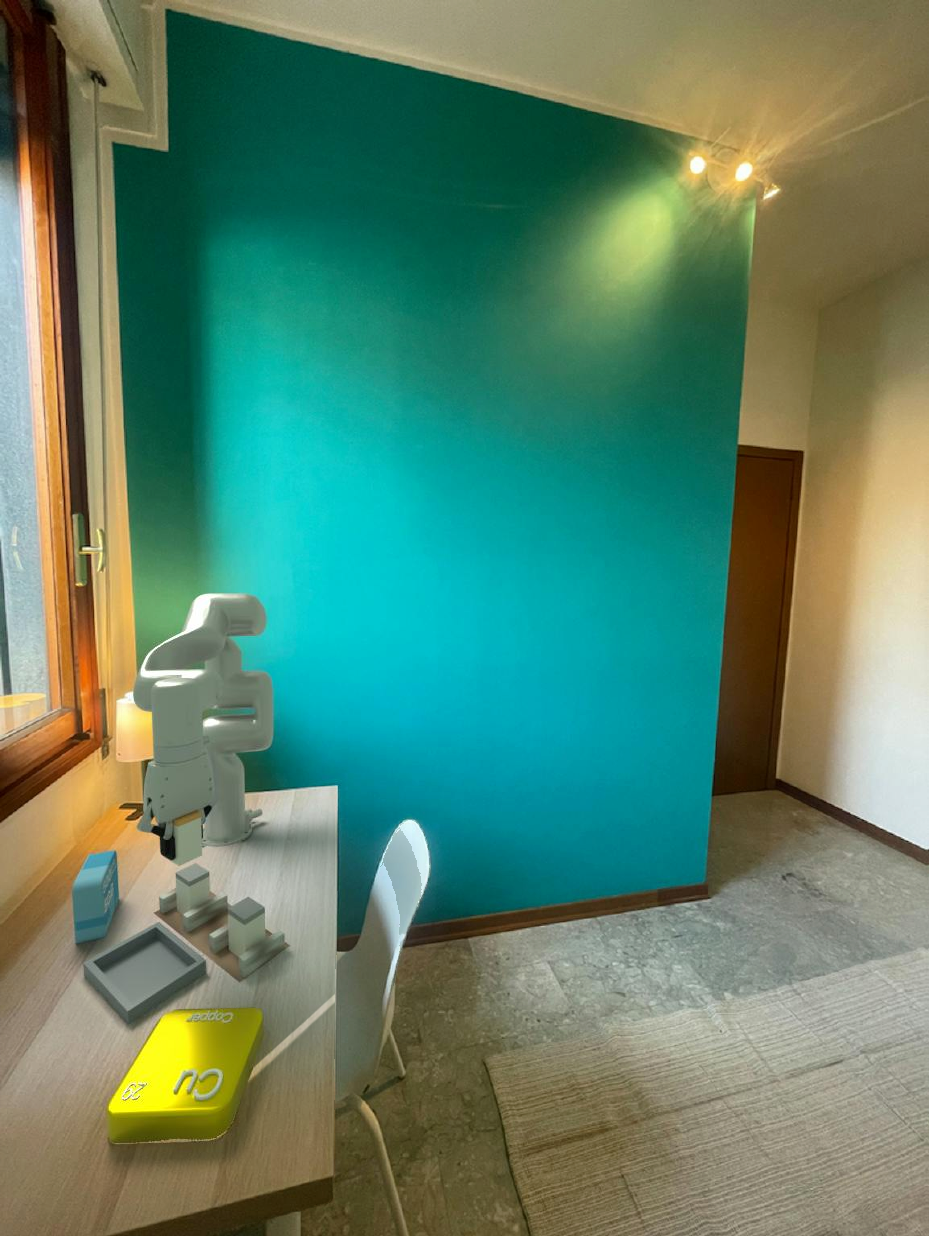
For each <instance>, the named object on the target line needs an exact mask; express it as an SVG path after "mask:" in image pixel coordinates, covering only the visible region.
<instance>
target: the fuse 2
mask: <svg viewBox="0 0 929 1236" xmlns="http://www.w3.org/2000/svg"><path fill="white" fill-rule="evenodd" d="M265 929H266V907H265V906H264V905H263V904H261V903H259V902H258V901H256V900H254V899H253V898H252V897H250V896H247V897H245V898H244V899H242V900H240V901H238V902H236V903H235V904H233V905H231V907H230V908H228V932H229V950H230V951H231V952H232V953H234V954H235V955H236V956H238V957H240V956H241V955H243V954H244V953H245V952H247V951H248V950H250V949H251V948H253V947H254V946H256V945H257V944H259V943H260V942H262V941H263V940H264V939H265Z"/></svg>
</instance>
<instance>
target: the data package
mask: <svg viewBox="0 0 929 1236" xmlns="http://www.w3.org/2000/svg"><path fill="white" fill-rule="evenodd" d="M118 872H119V871H118V853H117V850H115V849H114V850H108V851H103V852H96V853H92V854H91V853H90V854H88V856H87V857H86V858H85V861H84V862H83V864H82V867H81V868H80V870H79V872H78V875H77V876H76V878H75V880H74V881H73V885H72V889H71V890H72V891H71V899H72V900H71V901H72V916H73V928H74V942H75V943H76V944H80V943H85V942H89V941H93V940H98V939H102V938H105V937H106V935H107V933H108V930H109V928H110V924H111V922H112V919H113V917H114V913H115V911H116V908H117V905H118V902H119V900H120V890H119V873H118Z"/></svg>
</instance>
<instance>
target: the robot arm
mask: <svg viewBox="0 0 929 1236" xmlns="http://www.w3.org/2000/svg"><path fill="white" fill-rule="evenodd" d="M267 618H268V617H267V612H266V608H265V606H264V605H263V603H262V602H261V601H260V599H259V598H258V597H256V596H254V595H253V594H249V593H239V592H238V593H237V592H235V593H234V592H233V593H230V592H228V593H226V592H224V593H221V592H215V593H214V592H212V593H210V592H209V593H204V594H201V595H199V596H197V597H196V598H194V600H193V601H192V602H191V604H190V607H189V611H188V613H187V614H186V618H185V621H184V624H183V627H182V630H181V633H178V634H176V635H174V636H172V637H171V638H168V639H167V640H165V641H164V642H162V643H160V644H159V645H158V646H156V647H154V648H153V649H152V650H151V651H149V652H148V654H146V656H145V658H144V660H143V661H142V663H141V666H140V667H139V670H138V672H137V675H136V677H135V681H134V684H133V690H132V697H133V702H134V704H135V706H136V707H137V708H138V709H139V710H141V711H143V712H147V713H149V712H150V713H151V721H152V722H151V724H152V725H151V727H152V747H153V748H152V750H153V751H152V752H153V754H152V756H153V760H151V761H149V762H148V764H147V768H146V773H145V778H144V785H143V803H142V805H143V814H142V815H141V817H140V819H139V821H138V823H137V825H136V830H138V831H140V832H143V833H147V834H153V835H155V836H158V837H159V852H160V855H161V856H163V858H165V857H166V858H168V859H169V860H168V859H167V860H168V861H170V860H171V861H172V860H174V859H175V858H176V853H175V838H174V837H173V836H172V829H173V823H174V820H175V819H177V818H180V817H182V816H185V815H187V814H190V813H192V812H195V811H197V810H198V811H200V812H201V833H202V847H205V848H206V847H225V846H229V845H233V844H235V843H238V842H243V841H245V840H246V839H249V838H248V837H250V836H251V835H252V833H253V825H252V823H251V822H252V821H253V820H254V819H257V818H259V817H261V816H263V810H262V809H261V808H258V809H255V810H253V809H251V808H248V809H247V810H246V796H245V795H246V793H245V791H246V790H245V784H246V783H245V767H244V763H243V762H242V760H241V758H240V757H239V756H238V755H237V753H248V752H249V753H250V752H259V751H264V750H265V751H266V750H267V749H268V748H270V747H271V745H272V743H273V739H274V688H273V680H272V678H271V675H270V673H268V672H266V671H263V670H243V668H242V665H243V663H242V662H243V661H242V660H243V658H242V657H243V655H242V654H243V653H242V650H241V648H240V646H239V645H238V644H237V642H236V641H234V640H233V638H232V637H258V636H261V635H262V634H263V633H264V632H265V629H266V626H267V621H268V619H267ZM201 663H204V668H197V669H196V668H193V669H192V668H190V669H184V668H188V667H191V666H196V665H199V664H201ZM210 709H213V710H235V709H236V710H238V709H239V710H240V709H241V710H242V709H252V711H253V712H254V713H253V712H252V713H233V714H218V715H211V716H208V717H206V718H204V719H203V712H205V711H207V710H210ZM154 818H155V820H154V821H155V823H156V824H155V823H152V821H153V819H154ZM166 858H165V859H166ZM171 861H170V862H171Z"/></svg>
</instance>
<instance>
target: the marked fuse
mask: <svg viewBox="0 0 929 1236" xmlns="http://www.w3.org/2000/svg"><path fill="white" fill-rule="evenodd" d="M172 836H173V837H174V838H175V853H176V858H175V859H174V860H172V861H171V860H169V859H168V858H166V857H164V858H165V860H168V861H170V862H172V863H173V864H175V865H176V866H178V867H181V866H183V865H185V864H187V863H189V862H191V861H193V860H195V859H198V858H199V857H202V856H203V846H202V833H201V812H200V811H198V810H197V811H195V812H192V813H190V814H187V815H185V816H182V817H180V818H177V819H175V820H174V823H173V829H172Z"/></svg>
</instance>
